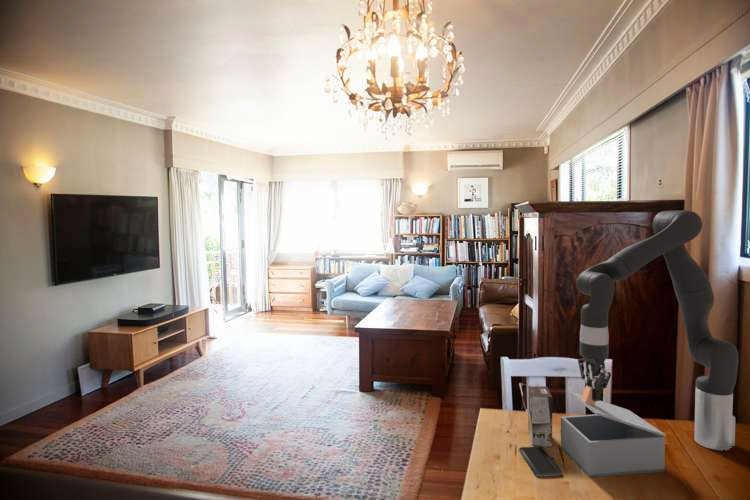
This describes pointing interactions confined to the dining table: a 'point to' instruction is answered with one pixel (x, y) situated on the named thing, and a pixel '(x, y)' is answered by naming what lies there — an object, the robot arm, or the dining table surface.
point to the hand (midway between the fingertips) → (593, 398)
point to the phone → (540, 462)
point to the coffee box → (540, 415)
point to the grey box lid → (613, 411)
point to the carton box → (611, 446)
